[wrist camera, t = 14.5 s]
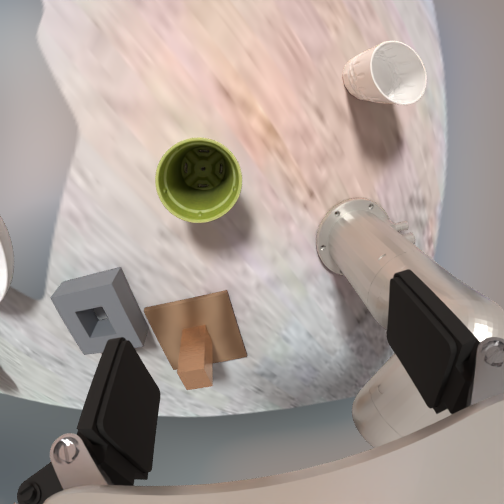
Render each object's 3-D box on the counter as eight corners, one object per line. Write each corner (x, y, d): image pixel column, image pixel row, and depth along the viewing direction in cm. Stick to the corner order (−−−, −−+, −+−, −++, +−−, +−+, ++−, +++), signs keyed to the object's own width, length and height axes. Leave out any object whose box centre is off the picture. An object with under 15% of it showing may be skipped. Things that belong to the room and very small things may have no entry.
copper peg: (205, 324, 49) (204, 368, 40) (212, 342, 51) (212, 385, 42) (182, 329, 49) (177, 372, 40) (190, 346, 51) (187, 390, 42)
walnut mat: (226, 290, 48) (227, 293, 47) (246, 352, 54) (246, 356, 53) (144, 307, 48) (143, 311, 47) (174, 366, 54) (173, 369, 53)
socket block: (120, 266, 45) (111, 283, 40) (148, 327, 50) (143, 346, 45) (62, 281, 45) (50, 297, 40) (92, 336, 50) (84, 354, 45)
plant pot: (169, 202, 41) (158, 224, 33) (167, 134, 37) (153, 139, 30) (237, 201, 42) (241, 222, 34) (238, 133, 38) (243, 137, 30)
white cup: (380, 112, 38) (419, 115, 29) (332, 93, 37) (363, 89, 28) (391, 65, 35) (431, 59, 26) (344, 44, 34) (377, 29, 25)
